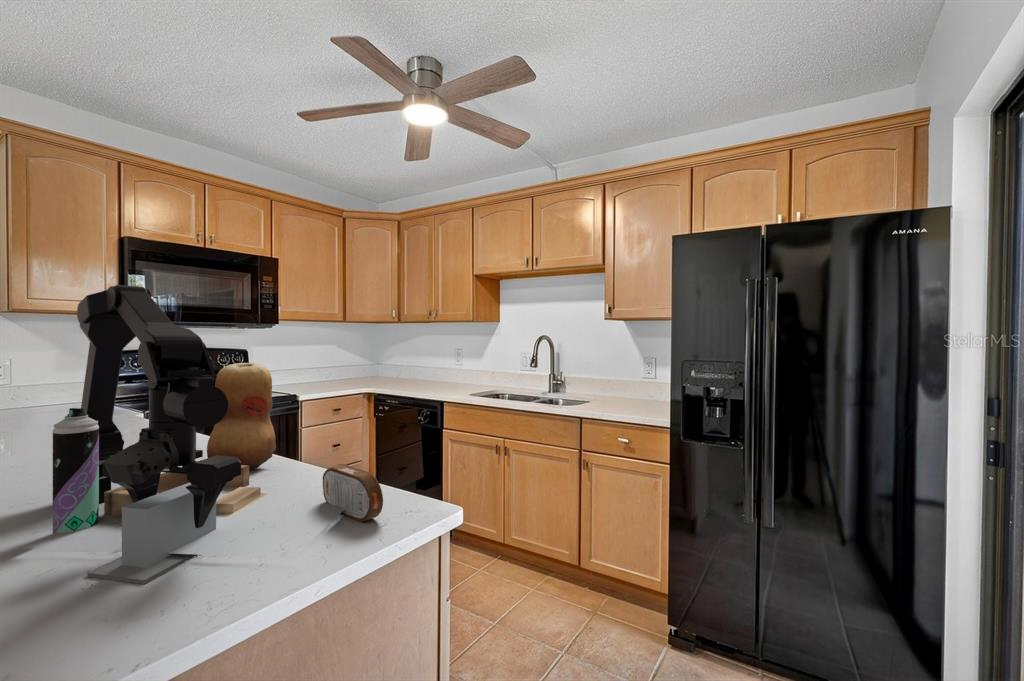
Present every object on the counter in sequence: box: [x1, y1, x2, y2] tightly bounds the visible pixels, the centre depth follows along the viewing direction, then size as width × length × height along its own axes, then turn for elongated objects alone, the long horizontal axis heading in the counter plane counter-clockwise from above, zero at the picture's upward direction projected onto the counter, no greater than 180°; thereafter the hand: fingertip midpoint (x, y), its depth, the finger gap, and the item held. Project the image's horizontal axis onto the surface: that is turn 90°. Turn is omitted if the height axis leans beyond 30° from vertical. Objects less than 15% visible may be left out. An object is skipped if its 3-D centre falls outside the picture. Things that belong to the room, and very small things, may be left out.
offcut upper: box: [216, 486, 262, 514], centre depth 88 cm, size 4×9×2 cm, turn 0°
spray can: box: [52, 407, 100, 535], centre depth 77 cm, size 6×6×20 cm
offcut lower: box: [220, 492, 270, 518], centre depth 88 cm, size 5×12×2 cm, turn 176°
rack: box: [103, 465, 250, 518], centre depth 90 cm, size 12×20×5 cm, turn 169°
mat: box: [86, 553, 198, 585], centre depth 71 cm, size 9×17×1 cm, turn 169°
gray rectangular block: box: [121, 483, 217, 568], centre depth 71 cm, size 4×12×8 cm, turn 169°
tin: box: [322, 463, 384, 523], centre depth 87 cm, size 15×3×8 cm, turn 53°
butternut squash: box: [206, 362, 277, 471], centre depth 111 cm, size 14×13×25 cm
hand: (172, 524), depth 71 cm, fingers open, 9 cm apart
